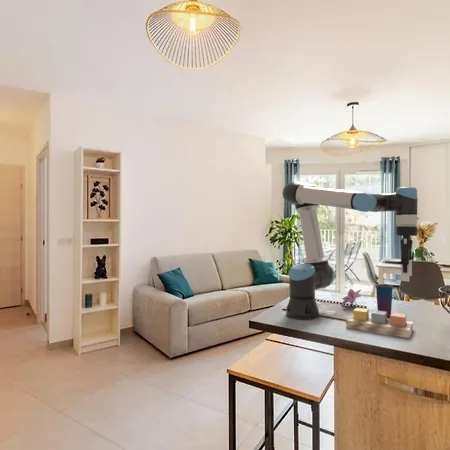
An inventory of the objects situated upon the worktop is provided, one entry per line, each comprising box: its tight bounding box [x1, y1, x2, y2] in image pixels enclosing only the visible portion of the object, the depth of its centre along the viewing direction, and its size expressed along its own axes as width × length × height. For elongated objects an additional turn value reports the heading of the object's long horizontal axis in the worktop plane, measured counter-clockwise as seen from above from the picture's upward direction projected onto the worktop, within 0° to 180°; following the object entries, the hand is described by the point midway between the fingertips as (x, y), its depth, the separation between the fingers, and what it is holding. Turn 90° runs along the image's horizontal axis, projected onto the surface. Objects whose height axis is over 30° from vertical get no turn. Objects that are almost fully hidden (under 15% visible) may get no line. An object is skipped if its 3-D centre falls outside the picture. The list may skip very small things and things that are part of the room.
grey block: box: [370, 309, 387, 324], centre depth 135 cm, size 5×5×4 cm
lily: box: [340, 288, 362, 308], centre depth 168 cm, size 12×12×10 cm
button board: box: [345, 314, 414, 339], centre depth 135 cm, size 23×12×3 cm, turn 55°
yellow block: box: [352, 307, 370, 321], centre depth 139 cm, size 5×5×4 cm
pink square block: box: [390, 312, 407, 327], centre depth 131 cm, size 5×5×4 cm
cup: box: [375, 283, 394, 318], centre depth 147 cm, size 7×7×15 cm
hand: (406, 278), depth 133 cm, fingers open, 13 cm apart
